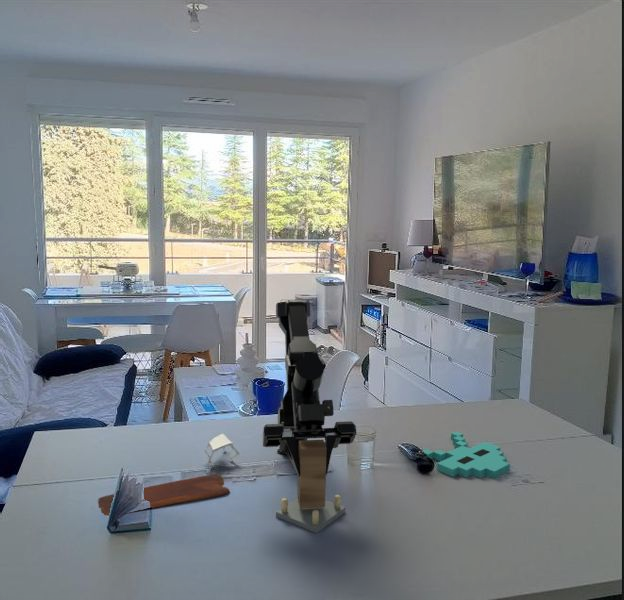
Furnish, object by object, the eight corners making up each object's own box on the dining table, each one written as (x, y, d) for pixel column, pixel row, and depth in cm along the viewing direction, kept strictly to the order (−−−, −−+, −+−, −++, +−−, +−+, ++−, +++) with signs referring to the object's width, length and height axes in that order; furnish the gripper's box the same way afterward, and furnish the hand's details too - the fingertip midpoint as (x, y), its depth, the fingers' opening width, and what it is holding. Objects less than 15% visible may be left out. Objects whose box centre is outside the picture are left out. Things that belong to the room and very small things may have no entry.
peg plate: (305, 497, 128) (305, 481, 128) (345, 511, 123) (345, 495, 122) (275, 516, 120) (276, 500, 120) (316, 533, 115) (317, 516, 114)
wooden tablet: (219, 477, 138) (219, 470, 138) (232, 497, 129) (232, 489, 129) (96, 498, 127) (96, 490, 127) (100, 521, 118) (100, 513, 118)
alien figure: (407, 459, 149) (477, 489, 134) (407, 450, 149) (477, 479, 134) (455, 439, 162) (524, 464, 147) (456, 431, 162) (524, 456, 147)
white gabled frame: (240, 468, 141) (240, 449, 140) (204, 471, 140) (204, 451, 139) (237, 448, 153) (237, 429, 152) (204, 450, 151) (203, 431, 151)
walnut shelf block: (297, 498, 123) (298, 440, 121) (321, 497, 123) (323, 439, 121) (299, 508, 119) (300, 448, 117) (325, 507, 120) (326, 447, 117)
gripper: (263, 386, 120) (267, 462, 111) (356, 383, 122) (366, 458, 113) (261, 410, 129) (264, 482, 120) (347, 407, 131) (356, 478, 122)
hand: (312, 475), depth 119 cm, fingers closed on walnut shelf block, 5 cm apart
